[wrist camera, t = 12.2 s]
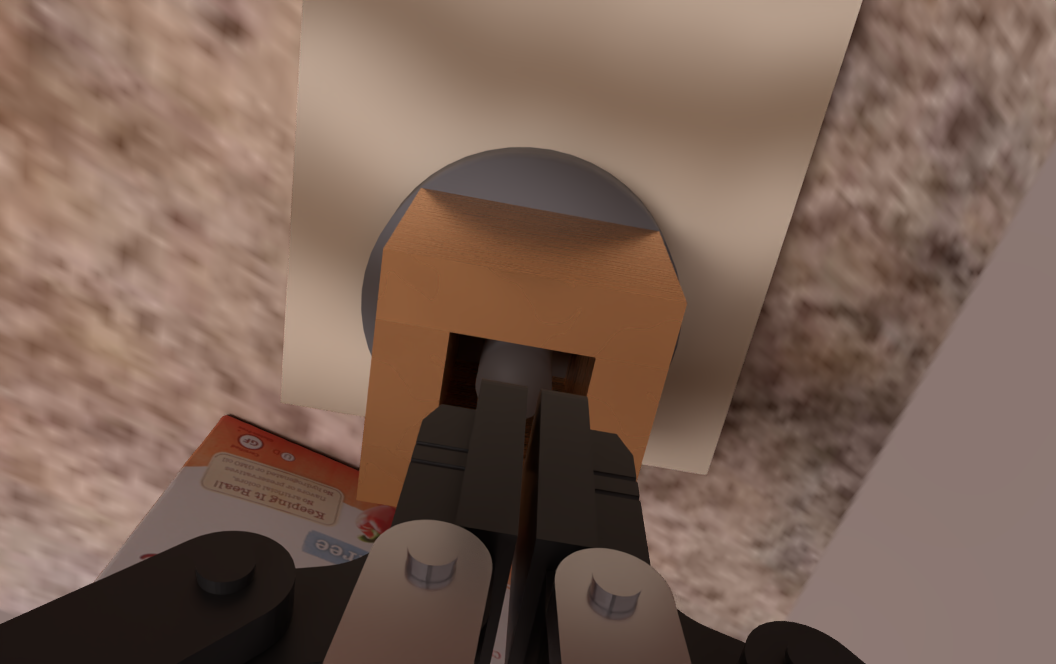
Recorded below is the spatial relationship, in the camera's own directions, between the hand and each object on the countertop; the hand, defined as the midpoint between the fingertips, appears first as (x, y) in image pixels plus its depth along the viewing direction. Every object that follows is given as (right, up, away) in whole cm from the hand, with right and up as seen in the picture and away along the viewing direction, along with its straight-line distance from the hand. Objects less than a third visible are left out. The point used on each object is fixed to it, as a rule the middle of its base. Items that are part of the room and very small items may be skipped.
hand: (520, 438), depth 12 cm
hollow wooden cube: (0, +2, +10) cm, 10 cm away
